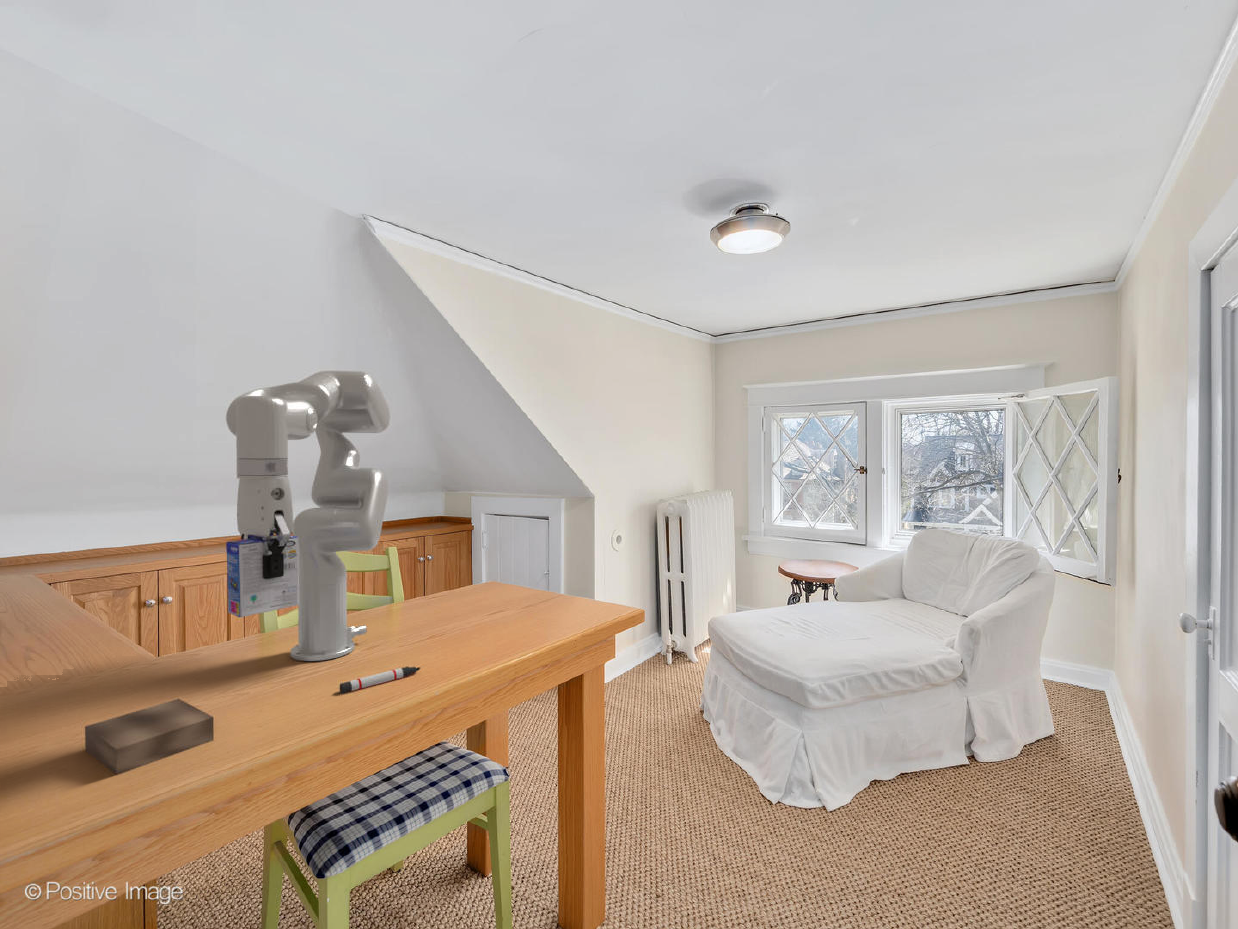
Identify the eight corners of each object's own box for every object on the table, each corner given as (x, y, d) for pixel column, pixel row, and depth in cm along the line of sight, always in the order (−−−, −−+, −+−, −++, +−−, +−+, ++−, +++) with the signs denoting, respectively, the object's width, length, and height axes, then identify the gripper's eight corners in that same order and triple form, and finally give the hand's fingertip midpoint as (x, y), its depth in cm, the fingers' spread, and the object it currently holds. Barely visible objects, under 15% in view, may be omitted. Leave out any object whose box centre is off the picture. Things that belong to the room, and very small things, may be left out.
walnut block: (179, 722, 100) (178, 698, 100) (213, 742, 93) (213, 717, 93) (85, 753, 90) (84, 726, 90) (116, 778, 83) (116, 749, 83)
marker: (343, 696, 111) (343, 685, 111) (339, 692, 112) (339, 681, 112) (422, 674, 122) (422, 664, 122) (417, 671, 123) (418, 662, 123)
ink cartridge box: (285, 600, 110) (285, 520, 109) (301, 605, 107) (301, 523, 106) (224, 612, 102) (224, 526, 101) (240, 618, 98) (239, 529, 98)
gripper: (312, 470, 102) (313, 578, 102) (259, 467, 111) (260, 565, 112) (266, 472, 95) (267, 586, 96) (214, 468, 105) (215, 572, 105)
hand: (263, 574), depth 104 cm, fingers closed on ink cartridge box, 5 cm apart
